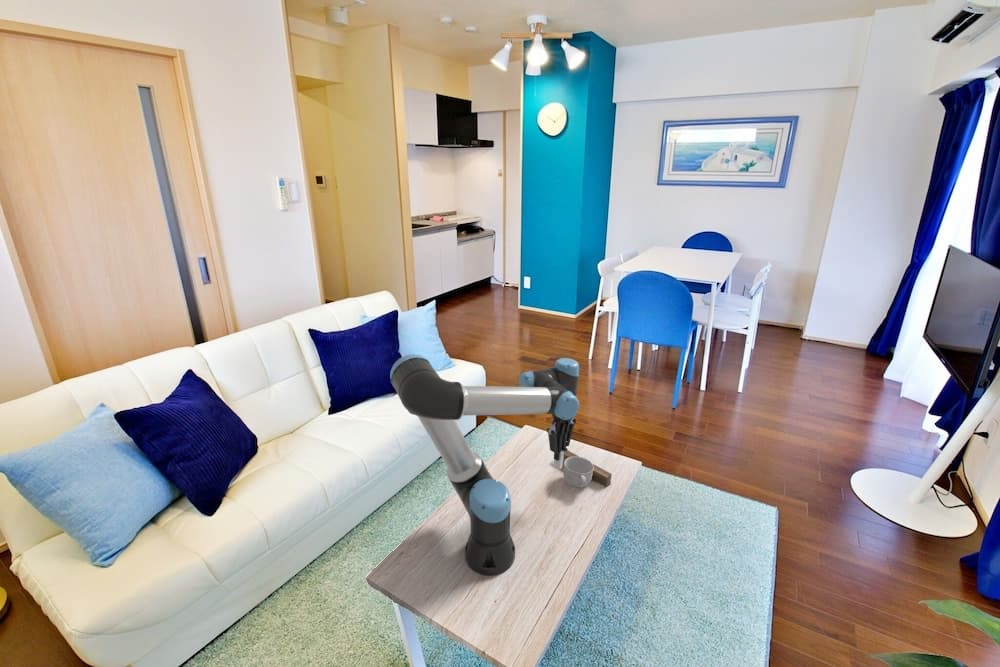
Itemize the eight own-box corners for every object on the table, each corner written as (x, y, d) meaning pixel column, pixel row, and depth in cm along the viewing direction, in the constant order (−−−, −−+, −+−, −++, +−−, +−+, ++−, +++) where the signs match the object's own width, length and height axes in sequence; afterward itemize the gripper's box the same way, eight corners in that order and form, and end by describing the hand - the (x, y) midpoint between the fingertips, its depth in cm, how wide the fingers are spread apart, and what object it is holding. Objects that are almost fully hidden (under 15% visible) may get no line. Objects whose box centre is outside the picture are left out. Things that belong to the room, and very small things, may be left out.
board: (605, 487, 171) (606, 477, 169) (559, 461, 186) (559, 451, 184) (610, 484, 173) (611, 473, 171) (563, 458, 188) (564, 448, 186)
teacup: (562, 472, 179) (563, 454, 176) (591, 474, 178) (593, 456, 175) (562, 496, 166) (564, 477, 163) (593, 499, 165) (595, 480, 162)
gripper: (559, 415, 145) (554, 479, 153) (585, 403, 153) (578, 464, 161) (541, 406, 150) (537, 469, 158) (567, 394, 158) (561, 454, 166)
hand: (558, 466), depth 159 cm, fingers closed
